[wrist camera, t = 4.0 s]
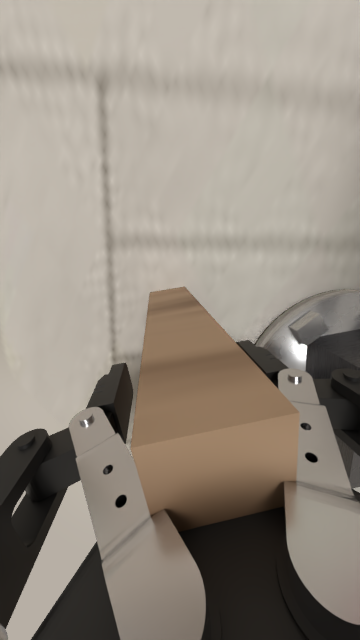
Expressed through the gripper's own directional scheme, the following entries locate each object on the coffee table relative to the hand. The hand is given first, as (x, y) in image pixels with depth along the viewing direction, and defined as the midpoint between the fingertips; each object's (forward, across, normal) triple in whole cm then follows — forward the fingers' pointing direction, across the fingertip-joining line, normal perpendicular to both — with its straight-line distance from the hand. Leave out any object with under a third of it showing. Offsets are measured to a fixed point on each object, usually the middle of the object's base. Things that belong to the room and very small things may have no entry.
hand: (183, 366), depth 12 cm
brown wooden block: (+7, 0, 0) cm, 7 cm away
